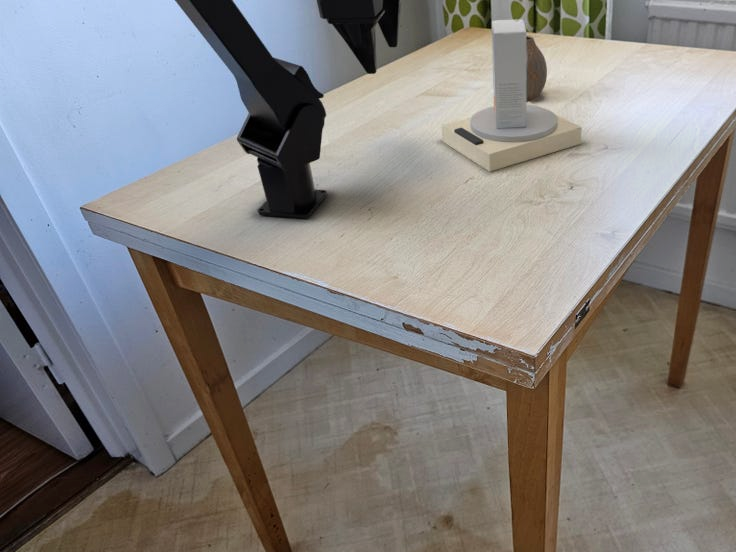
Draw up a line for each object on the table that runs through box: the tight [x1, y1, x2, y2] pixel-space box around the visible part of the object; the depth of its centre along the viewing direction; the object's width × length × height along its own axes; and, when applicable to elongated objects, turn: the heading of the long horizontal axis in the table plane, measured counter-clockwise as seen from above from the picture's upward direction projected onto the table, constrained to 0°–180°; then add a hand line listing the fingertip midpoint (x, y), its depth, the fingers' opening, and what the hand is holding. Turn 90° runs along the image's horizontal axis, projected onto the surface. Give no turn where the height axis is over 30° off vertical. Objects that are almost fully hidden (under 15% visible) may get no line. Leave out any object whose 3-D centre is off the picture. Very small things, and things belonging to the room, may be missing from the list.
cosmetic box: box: [491, 19, 527, 128], centre depth 87 cm, size 6×4×12 cm
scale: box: [441, 101, 583, 173], centre depth 92 cm, size 15×12×3 cm
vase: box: [526, 35, 548, 101], centre depth 105 cm, size 7×7×9 cm
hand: (383, 59), depth 82 cm, fingers open, 9 cm apart
